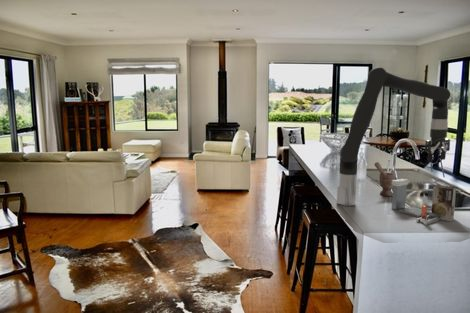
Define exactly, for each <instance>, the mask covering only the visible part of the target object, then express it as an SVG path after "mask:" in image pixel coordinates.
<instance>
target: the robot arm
mask: <svg viewBox="0 0 470 313" xmlns="http://www.w3.org/2000/svg"><path fill="white" fill-rule="evenodd" d="M383 87H385V88H386V87H387V88H391V89H396V90H398V91H402V92H405V93H408V94H410V95H413V96H418V97H421V98H427V99H430V100H432V110H431V111H432V112H431V121H430V127H429V128H430V130H429V137H430V138H431V139H426V140H425V145H424V152H425V153H427V161H429V162H431V161H433V160H434V159H433V157H434V152H435V151H436V150H437V149H439V150H440V151H441V152H440V157H439V158H440V160H443V161H444V160H446V155H447V152H450V149H451V148H450V146H451V140H450V138H447V137H448V123H449V122H448V118H449V109H448V100H449V99H450V98H451V91H450V89H448V88H447V87H444V86H438V85H434V84H430V83H427V82H424V81H421V80H418V79H417V80H416V79H411V78H408V77H401V76H398V75H396V74H395V75H394V74H392V73H389V72H387V70H386V69H385V68H383V67H380V66H377V67H374V68H373V69H371V70H370V71H369V73H368V75H367V81H366V84H365V88H364V91H363V94H362V96H361V98H360V99H359V101H358V104H357V105H356V108H355V111H354V114H353V117H352V120H351V123H350V127H349V132H348V136H347V138H346V139H345V143H344V144H343V145H342V147H341V149H340V151H339V153H340V157H339V170H338V171H339V174H338V178H339V179H338V186H337V187H336V188H337V190H336V204H338V205H342V206H344V207H346V206H348V207H351V206H352V207H353V206H355V205H356V195H357V178H358V177H357V176H358V157H359V152H360V147H361V145H362V140H363V138H364V137H365V134H366V132H367V131H368V128H369V126H370V124H371V122H372V119H373V116H374V113H375V110H376V106H377V103H378V102H377V101H378V99H379V96H380V92H381V91H382V89H383Z"/></svg>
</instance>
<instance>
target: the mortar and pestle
mask: <svg viewBox="0 0 470 313" xmlns="http://www.w3.org/2000/svg"><path fill="white" fill-rule="evenodd" d="M374 167H375V168H376V169H377V171H378V172H379V184H380V187H381V188H382V190H380V193H379V195H380V196H382V197H392V195H393V191H391V189H393V185H392V180H396V174H395V173H393V172H385V171H384V169H383V168H382V165H381V164H380V163H379V162H377V161H376V162H375V163H374Z"/></svg>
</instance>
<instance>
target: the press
mask: <svg viewBox="0 0 470 313" xmlns="http://www.w3.org/2000/svg"><path fill="white" fill-rule="evenodd" d="M392 185H393V187H392V193H393V195H392V196H391V197H392V198H391V210H395V211H397V210H399V212H398V213H401V214H404V215H408V216H411V217H415V218H416V219H415V222H416V223H421V222H420V218H421V217H420V216H421V212H422V208H419V207H415V206H410V207H406V201H407V187H408V186H407V185H409V179H407V178H399V179H395V180H392ZM427 214H428V215H427V219H428V220H426V221H424V223H423V224H424V225H425V226H427V225H430V224H433V222H434V223H437V222H439V221H440V214H436V213H433V212H431V211H429V210H427ZM430 218H431V219H430Z"/></svg>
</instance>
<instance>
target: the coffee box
mask: <svg viewBox="0 0 470 313" xmlns="http://www.w3.org/2000/svg"><path fill="white" fill-rule="evenodd" d="M456 195H457V186H454V185H445V184H438V183H437V184H435V185H433V188H432V196H431V197H432V201H431V211H430V212H433V213H436V214H440V220H442V221H447V222H452V221H453V220H454V219H455V218H454V217H455V210H456V208H455V207H456V199H457V198H456Z"/></svg>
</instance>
